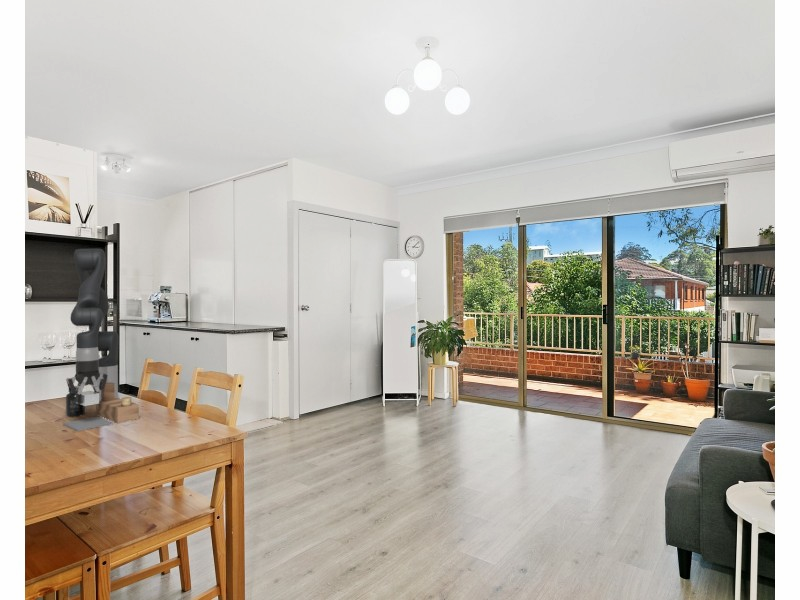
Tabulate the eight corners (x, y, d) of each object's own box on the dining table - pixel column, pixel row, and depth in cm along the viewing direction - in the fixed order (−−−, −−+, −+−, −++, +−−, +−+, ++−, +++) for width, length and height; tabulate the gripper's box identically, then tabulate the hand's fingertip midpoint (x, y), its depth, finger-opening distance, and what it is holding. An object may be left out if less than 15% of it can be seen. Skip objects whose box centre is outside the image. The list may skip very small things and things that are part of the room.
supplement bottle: (89, 413, 204) (89, 385, 204) (77, 417, 197) (76, 388, 197) (74, 412, 204) (74, 384, 204) (61, 417, 198) (61, 388, 197)
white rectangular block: (76, 402, 187) (76, 392, 186) (90, 400, 191) (90, 390, 191) (84, 405, 182) (84, 395, 182) (99, 403, 186) (99, 393, 186)
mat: (63, 425, 186) (63, 423, 186) (97, 418, 195) (97, 416, 195) (77, 431, 177) (77, 429, 177) (112, 424, 187) (112, 422, 187)
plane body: (96, 415, 201) (96, 384, 200) (116, 411, 207) (116, 381, 207) (117, 423, 189) (117, 390, 189) (138, 419, 195) (138, 387, 195)
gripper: (103, 356, 194) (103, 398, 194) (62, 360, 182) (62, 404, 183) (111, 357, 190) (111, 400, 190) (70, 361, 178) (70, 407, 178)
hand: (87, 402), depth 186 cm, fingers closed on white rectangular block, 5 cm apart
